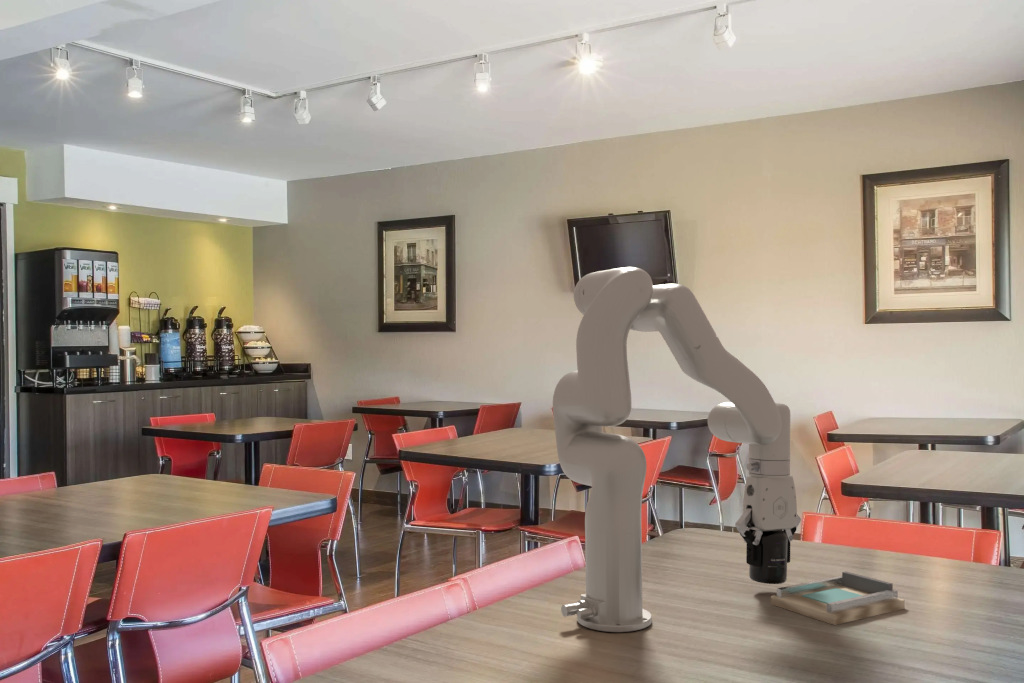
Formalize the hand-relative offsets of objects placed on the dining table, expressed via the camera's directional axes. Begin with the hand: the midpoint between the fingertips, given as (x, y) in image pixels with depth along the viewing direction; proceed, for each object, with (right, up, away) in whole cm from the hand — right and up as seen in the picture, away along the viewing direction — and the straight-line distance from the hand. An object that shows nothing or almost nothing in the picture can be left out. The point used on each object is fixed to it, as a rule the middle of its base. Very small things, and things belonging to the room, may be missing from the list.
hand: (768, 562), depth 163 cm
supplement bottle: (0, -4, 0) cm, 4 cm away
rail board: (+10, -5, -9) cm, 14 cm away
